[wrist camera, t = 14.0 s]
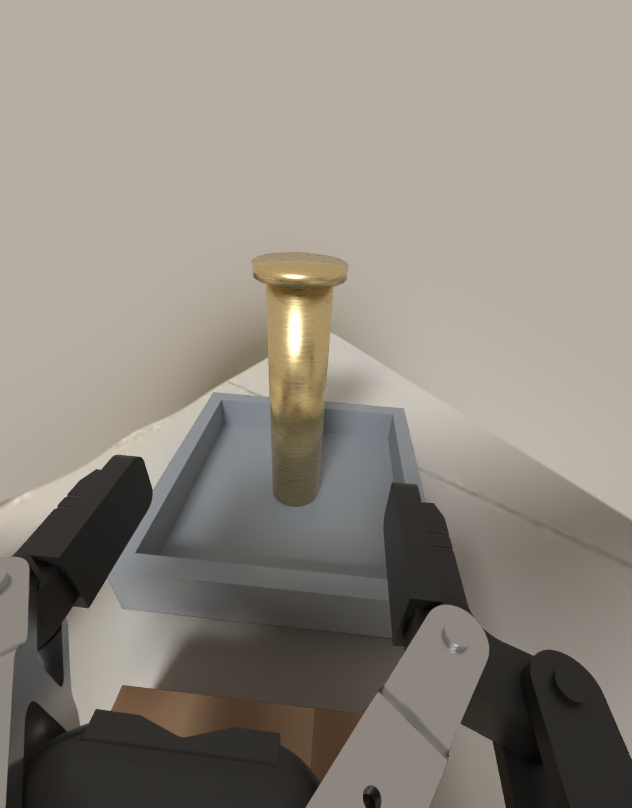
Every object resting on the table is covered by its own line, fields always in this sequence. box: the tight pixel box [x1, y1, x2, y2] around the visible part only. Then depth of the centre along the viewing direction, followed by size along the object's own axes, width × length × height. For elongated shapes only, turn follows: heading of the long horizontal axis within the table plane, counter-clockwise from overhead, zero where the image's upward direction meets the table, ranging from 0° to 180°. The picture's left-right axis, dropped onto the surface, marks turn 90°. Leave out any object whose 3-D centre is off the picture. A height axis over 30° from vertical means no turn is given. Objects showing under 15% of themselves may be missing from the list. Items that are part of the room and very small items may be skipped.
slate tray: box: [107, 392, 425, 638], centre depth 24 cm, size 16×16×4 cm
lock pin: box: [252, 252, 348, 507], centre depth 20 cm, size 4×4×15 cm
